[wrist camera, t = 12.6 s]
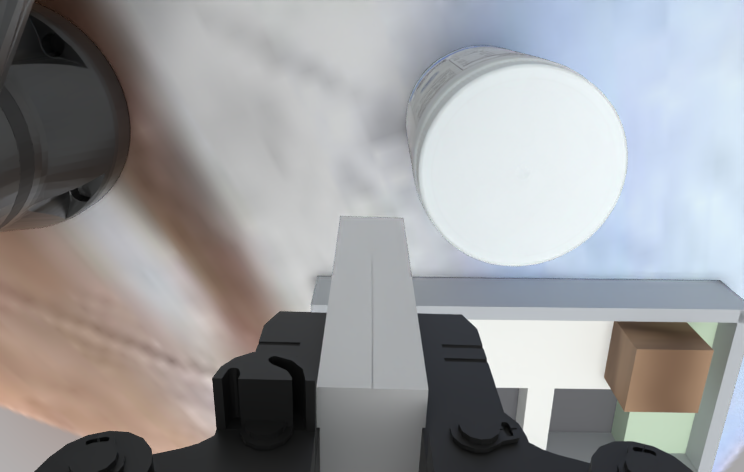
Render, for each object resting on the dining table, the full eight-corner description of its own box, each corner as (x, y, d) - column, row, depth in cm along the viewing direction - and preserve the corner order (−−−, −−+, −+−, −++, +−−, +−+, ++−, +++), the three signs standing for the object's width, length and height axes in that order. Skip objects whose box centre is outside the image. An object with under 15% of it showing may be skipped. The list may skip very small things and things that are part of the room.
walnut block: (603, 377, 44) (624, 411, 40) (614, 318, 42) (636, 349, 38) (671, 378, 44) (697, 413, 40) (684, 319, 42) (713, 350, 38)
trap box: (323, 436, 49) (317, 476, 45) (317, 276, 44) (310, 304, 40) (680, 441, 49) (708, 482, 45) (720, 280, 43) (756, 309, 39)
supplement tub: (539, 185, 41) (617, 274, 27) (404, 186, 41) (414, 276, 27) (552, 39, 37) (650, 59, 24) (404, 42, 38) (416, 62, 24)
